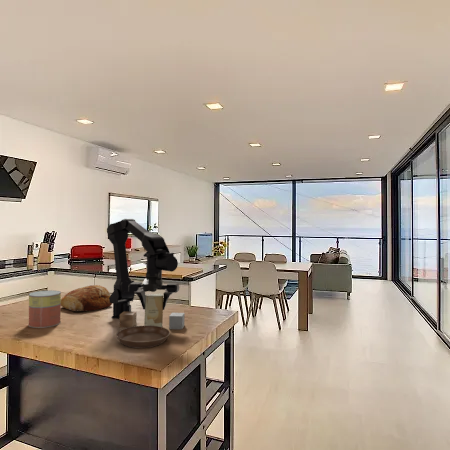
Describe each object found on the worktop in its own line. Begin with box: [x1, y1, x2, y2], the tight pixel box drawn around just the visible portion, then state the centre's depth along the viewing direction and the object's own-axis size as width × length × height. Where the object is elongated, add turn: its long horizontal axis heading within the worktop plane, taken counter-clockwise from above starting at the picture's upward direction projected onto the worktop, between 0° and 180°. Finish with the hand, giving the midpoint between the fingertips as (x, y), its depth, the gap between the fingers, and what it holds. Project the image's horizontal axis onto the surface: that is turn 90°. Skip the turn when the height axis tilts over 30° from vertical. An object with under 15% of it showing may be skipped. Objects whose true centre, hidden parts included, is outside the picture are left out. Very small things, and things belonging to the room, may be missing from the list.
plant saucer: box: [115, 325, 171, 349], centre depth 123 cm, size 18×18×3 cm
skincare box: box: [143, 293, 164, 327], centre depth 139 cm, size 6×4×12 cm
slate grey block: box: [168, 312, 186, 330], centre depth 139 cm, size 5×5×5 cm
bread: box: [61, 284, 113, 312], centre depth 169 cm, size 20×18×10 cm
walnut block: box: [119, 311, 137, 329], centre depth 140 cm, size 5×5×5 cm
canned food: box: [27, 289, 62, 329], centre depth 142 cm, size 11×11×12 cm
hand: (153, 309), depth 139 cm, fingers closed on skincare box, 7 cm apart
